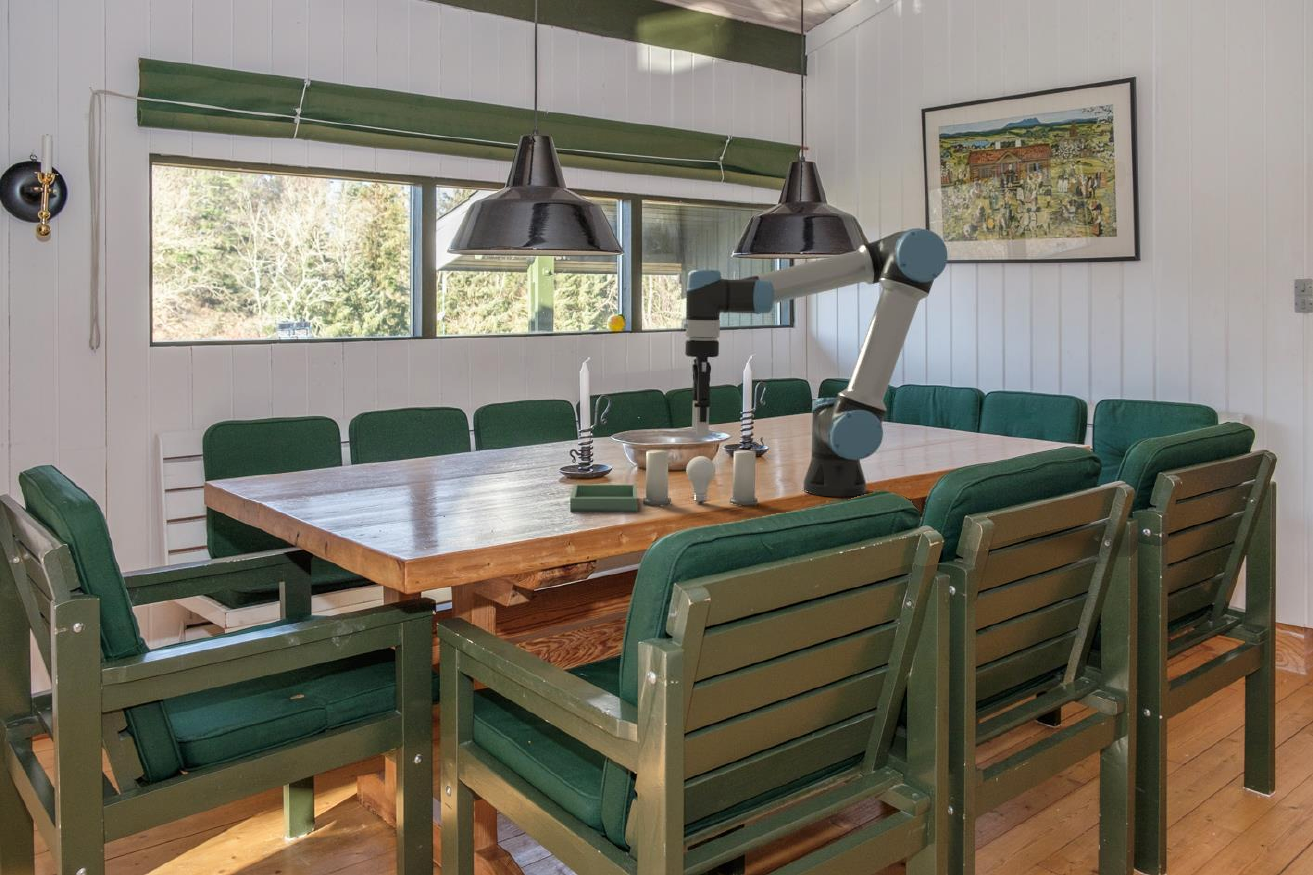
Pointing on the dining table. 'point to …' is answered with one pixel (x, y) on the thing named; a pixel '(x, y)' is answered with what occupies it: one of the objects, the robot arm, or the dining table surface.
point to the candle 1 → (656, 478)
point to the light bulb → (700, 476)
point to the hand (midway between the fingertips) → (700, 432)
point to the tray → (604, 498)
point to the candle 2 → (744, 478)
